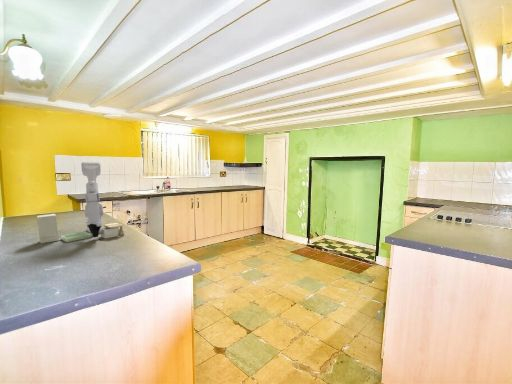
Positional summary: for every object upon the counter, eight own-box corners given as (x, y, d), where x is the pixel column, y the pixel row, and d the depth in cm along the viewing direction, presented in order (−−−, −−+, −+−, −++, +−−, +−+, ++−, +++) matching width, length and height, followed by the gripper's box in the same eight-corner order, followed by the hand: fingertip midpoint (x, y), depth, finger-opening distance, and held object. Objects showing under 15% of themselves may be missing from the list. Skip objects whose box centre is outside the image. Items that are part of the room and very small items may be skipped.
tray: (61, 239, 148) (60, 235, 148) (85, 234, 158) (85, 231, 158) (67, 242, 142) (66, 238, 142) (91, 237, 152) (91, 234, 152)
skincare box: (58, 238, 149) (56, 213, 148) (58, 241, 145) (56, 215, 143) (39, 241, 144) (37, 215, 142) (39, 243, 140) (36, 216, 138)
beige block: (104, 235, 156) (103, 224, 155) (117, 232, 162) (117, 222, 162) (110, 238, 151) (109, 227, 150) (124, 235, 157) (123, 224, 156)
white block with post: (90, 239, 149) (89, 230, 148) (114, 234, 160) (114, 225, 159) (94, 240, 145) (93, 231, 145) (119, 235, 156) (118, 227, 156)
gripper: (80, 212, 148) (82, 236, 149) (90, 216, 139) (92, 240, 141) (94, 211, 154) (95, 233, 155) (104, 214, 145) (106, 237, 146)
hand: (95, 236), depth 148 cm, fingers closed on white block with post
